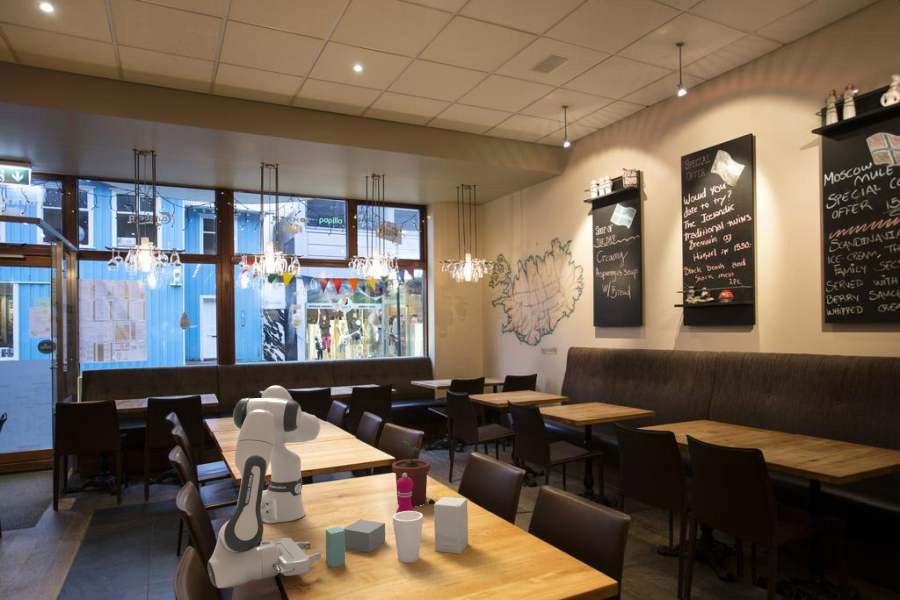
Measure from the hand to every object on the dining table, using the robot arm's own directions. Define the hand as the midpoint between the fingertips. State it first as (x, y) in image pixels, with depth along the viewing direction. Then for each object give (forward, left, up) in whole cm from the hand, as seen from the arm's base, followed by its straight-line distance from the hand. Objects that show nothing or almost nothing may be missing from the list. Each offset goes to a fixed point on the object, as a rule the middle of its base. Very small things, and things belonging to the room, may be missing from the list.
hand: (315, 549), depth 169 cm
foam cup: (+23, +17, -6) cm, 29 cm away
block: (+4, +5, -5) cm, 8 cm away
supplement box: (+32, +30, -6) cm, 44 cm away
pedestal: (+4, +21, -5) cm, 22 cm away
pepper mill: (+10, +38, -6) cm, 40 cm away
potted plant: (-3, +69, -6) cm, 69 cm away
